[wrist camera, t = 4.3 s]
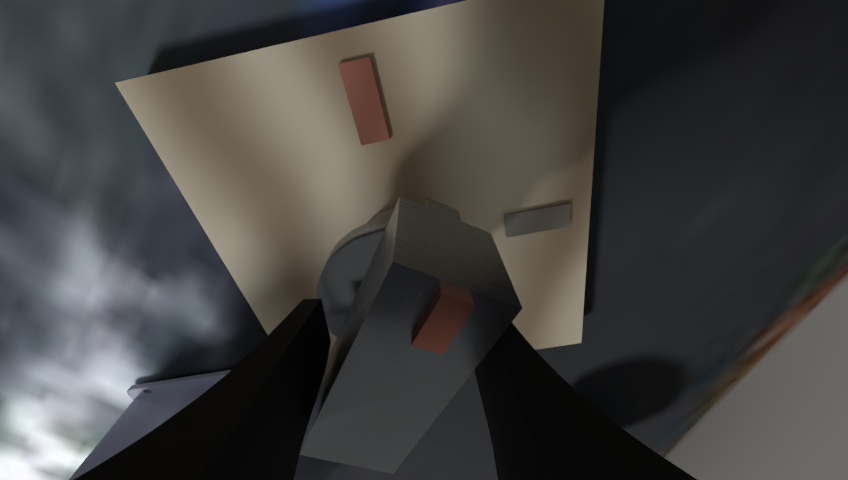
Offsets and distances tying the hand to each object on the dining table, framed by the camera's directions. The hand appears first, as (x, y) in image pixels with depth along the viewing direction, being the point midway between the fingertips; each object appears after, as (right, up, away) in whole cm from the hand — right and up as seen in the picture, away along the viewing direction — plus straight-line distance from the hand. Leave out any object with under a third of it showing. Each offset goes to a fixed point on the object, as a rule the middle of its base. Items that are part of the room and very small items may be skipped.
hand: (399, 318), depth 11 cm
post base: (0, +3, +6) cm, 7 cm away
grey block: (0, +1, +2) cm, 2 cm away
